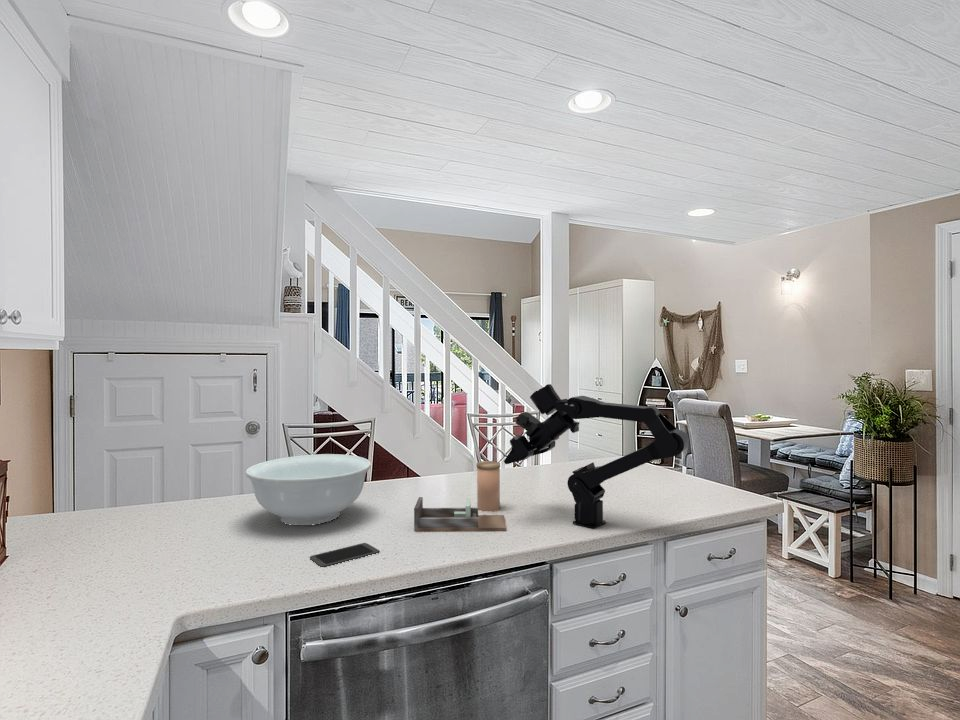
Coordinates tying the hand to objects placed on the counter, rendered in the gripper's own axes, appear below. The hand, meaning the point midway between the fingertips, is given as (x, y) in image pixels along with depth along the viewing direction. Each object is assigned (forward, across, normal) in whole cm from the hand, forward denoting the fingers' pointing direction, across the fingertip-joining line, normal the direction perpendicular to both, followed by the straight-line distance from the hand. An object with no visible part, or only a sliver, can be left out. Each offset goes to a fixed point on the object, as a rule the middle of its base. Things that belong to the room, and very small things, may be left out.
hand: (512, 460), depth 153 cm
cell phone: (+22, +49, +2) cm, 54 cm away
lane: (+14, +18, +8) cm, 24 cm away
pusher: (+13, +17, +7) cm, 23 cm away
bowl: (+44, +34, -16) cm, 58 cm away
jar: (+15, +1, +7) cm, 16 cm away
